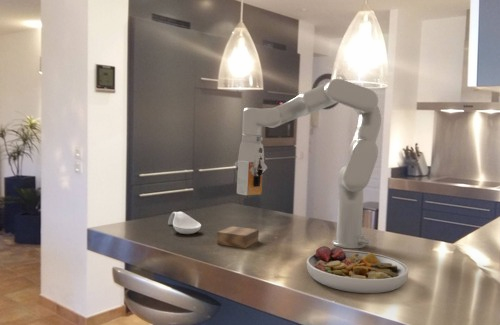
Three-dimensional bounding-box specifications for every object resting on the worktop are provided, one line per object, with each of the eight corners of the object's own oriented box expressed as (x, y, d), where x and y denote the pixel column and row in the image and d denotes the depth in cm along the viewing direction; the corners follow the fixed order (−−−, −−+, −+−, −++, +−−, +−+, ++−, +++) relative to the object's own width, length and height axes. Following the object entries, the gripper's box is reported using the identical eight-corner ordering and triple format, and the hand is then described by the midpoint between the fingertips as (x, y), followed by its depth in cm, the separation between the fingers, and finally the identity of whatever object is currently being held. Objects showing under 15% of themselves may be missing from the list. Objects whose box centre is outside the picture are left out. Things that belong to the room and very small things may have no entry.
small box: (247, 195, 179) (248, 162, 178) (236, 193, 183) (237, 160, 182) (262, 194, 184) (263, 161, 183) (251, 192, 189) (252, 160, 188)
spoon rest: (205, 235, 194) (205, 217, 193) (178, 237, 188) (179, 220, 188) (184, 223, 214) (184, 208, 214) (159, 226, 209) (159, 210, 208)
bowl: (423, 280, 143) (425, 255, 143) (378, 306, 121) (380, 276, 120) (338, 259, 163) (339, 237, 163) (286, 278, 141) (287, 253, 140)
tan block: (258, 242, 185) (258, 229, 185) (245, 248, 174) (245, 235, 174) (231, 238, 190) (231, 226, 189) (217, 244, 179) (217, 231, 179)
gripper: (275, 140, 179) (272, 187, 181) (240, 138, 190) (239, 182, 192) (263, 140, 174) (260, 188, 175) (228, 138, 185) (226, 183, 186)
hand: (249, 184), depth 183 cm, fingers closed on small box, 6 cm apart
